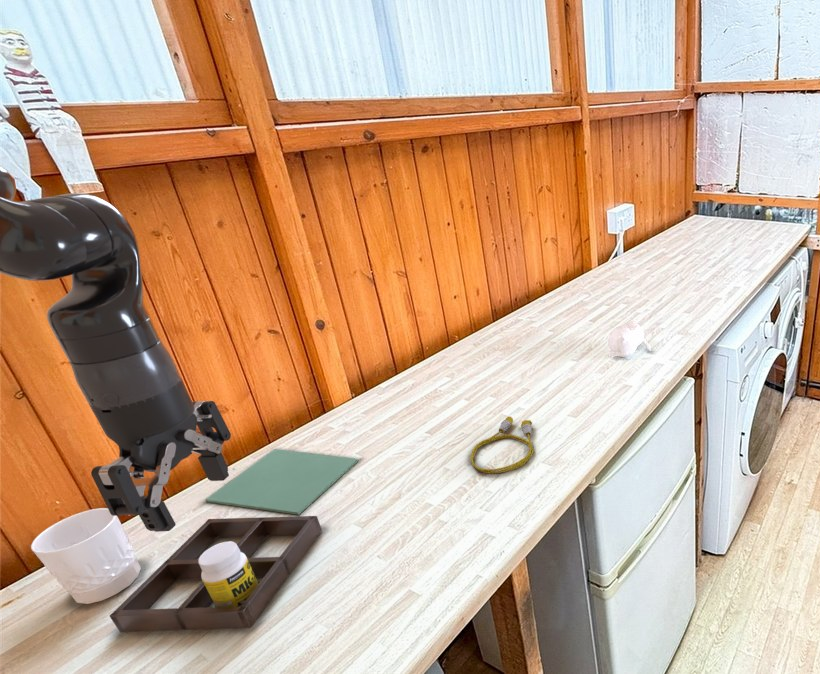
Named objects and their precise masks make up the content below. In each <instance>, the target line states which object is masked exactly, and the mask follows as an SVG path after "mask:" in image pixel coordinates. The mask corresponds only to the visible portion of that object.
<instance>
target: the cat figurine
mask: <svg viewBox="0 0 820 674" xmlns="http://www.w3.org/2000/svg"><path fill="white" fill-rule="evenodd" d="M642 343H644V345H645V347H646V348H647V350H648V351H649V352H651V351H652V347H651V345H650V344H649V343H648V341H647V340H646V339H645V332H644V329H643V327H642V326H641V325H640V324H638V323H636V322H634V321H633V320H629V322H627V323H625V324H623V325H622V326H618V327H615V328H614V329H612V330H611V331H610V333H609V334H608V336H607V346H608V349H609V352H608V358H615V357H620V358H626V357H627V358H628V357H630V356H632V355H633V354H634V353H635V352H636V350H637V349H638V347H639V346H640V345H641V344H642Z"/></svg>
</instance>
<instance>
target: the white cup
mask: <svg viewBox="0 0 820 674" xmlns="http://www.w3.org/2000/svg"><path fill="white" fill-rule="evenodd" d="M30 549H31V551H32V552H33V554H34V555H35V556H36V557H37V559H38V560H39V561H40V562H41V563H42V564H43V566H44V567H45V569H46V570H47V572H49V573H50V575H52V577H53V578H54V579H55V580H56V582H58V584H59V585H60V586H61V587H62V588H63V589H65V590H66V591H67V592H68V593H69V595H70V596H71V597H72V598H73V600H74V601H75V602H76V604H83V605H84V604H85V605H90V604H94V603H97V602H98V603H99V602H102V601H105V600H106V599H109V598H111V597H113V596H116V595H117V594H119V593H120V592H122V591H124V590H125V589H126V588H128V587H129V586H131V585H132V583H133V582H135V581H136V579H137V578H139V575H140V572H141V570H142V568H141V565H140V564H139V561H138V559H137V557H136V555H135V551H134V549H133V546H132V543H131V540H130V538H129V537H128V535H127V533H126V530H125V528H124V527H123V524H122V523H121V520H120V518H119V516H113V515H111V514H110V512H109V510H108V508H107V507H100V508H99V507H98V508H93V509H88V510H84V511H81V512H78V513H76V514H72V515H70V516H68V517H65V518H63V519H61V520H60V521H57V522H55V523H53V524H52V525H50V526H48V527H47V528H45V529H44V530H43V531H41V533H39V534H38V535H37V536H36V537H35V538H34V539H33V541H32V542H31V544H30Z"/></svg>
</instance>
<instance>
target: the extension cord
mask: <svg viewBox="0 0 820 674" xmlns="http://www.w3.org/2000/svg"><path fill="white" fill-rule="evenodd" d="M513 422H514V419H513V417H512V416H507V417H505V419H503V421H501V423H500V426H499V429H498V432H497V433H495V434H494V435H492V436H491V437H489V438H486V439H484V440H481V441H480V442H478V443H477V444H476V445H475V446H474V447H473V449H472V451H471V454H470V464H471V465H472V466H473V467H474V468H475V469H476V470H477V471H479V472H481V473H484V474H502V473H506V472H509V471H513V470H515V469H517V468H520V467H522V466H524V465H525V464H526V463H527V462H528V460H530V459H531V457H532V456H533V453H534V447H533V445H532V441H531V436H532V432H533V427H532V425H533V422H532V421H531V420H530V419H529V420H527V419H525V420H523V421H522V422H521V424H520V427H521V431H522V432H523V434H524V436H525V437H526V438H527V439H525V438H523V437H520V436H517V435H513V434H504V433H505V432H506V431H508V430H510V428H511V426H512V424H513ZM499 434H500V435H499ZM502 439H514V440H517V441H519V442H521V443H524V444H526V445H527V446H528V450H529V451H528V453H527V454H526V456H525V457H523V458H522V459H520V460H517V461H516V462H514V463H512V464H509V465H506V466H504V467H499V468H491V469H488V468H487V469H486V468H481V467H480V466H477V465H476V464H475V462H474V457H475V455H476V452H477V450H478V449H479V448H480V447H481V446H483V445H486V444H488V443H491V442H495V441H498V440H502Z"/></svg>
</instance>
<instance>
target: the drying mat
mask: <svg viewBox="0 0 820 674" xmlns="http://www.w3.org/2000/svg"><path fill="white" fill-rule="evenodd" d="M358 462H359V459H358V458H353V457H346V456H345V457H344V456H337V455H336V456H335V455H328V454H319V453H311V452H301V451H293V450H287V449H285V450H284V449H276V448H274V449H273V450H271V451H270V452H269V453H267V454H265V456H263V457H262V458H261V459H259V460H258V461H256V462H254V463H253V464H252V465H250V466H249V467H248V468H247V469H245V470H244V471H242V472H241V473H240V474H239V475H237V476H235V477H234V478H233V479H231V480H230V481H229V482H227V483H226V484H225V485H223V486H222V487H221V488H219V489H217V490H216V491H215V492H214V493H212V494H211V495H209V496H208V497H207V498H205V502H206V503H213V504H220V505H227V506H234V507H240V508H241V507H242V508H247V509H254V510H261V511H262V510H263V511H268V512H276V513H282V514H290V515H296V516H298V515H299V516H300V515H301V514H302V513H303V511H305V510H306V509H307V508H308V507H309V506H310V505H311V504H313V503H314V502H315V501H316V500H317V499H318V498H319V497H320V496H321V495H323V493H325V492H326V491H327V490H328V489H330V487H332V486H333V484H335V483H336V482H337V481H338V480H339V479H340V478H341V477H342V476H343V475H344V474H346V473H347V472H348V471H349V470H350V469H351V468H353V466H355V465H356V463H358Z"/></svg>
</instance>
